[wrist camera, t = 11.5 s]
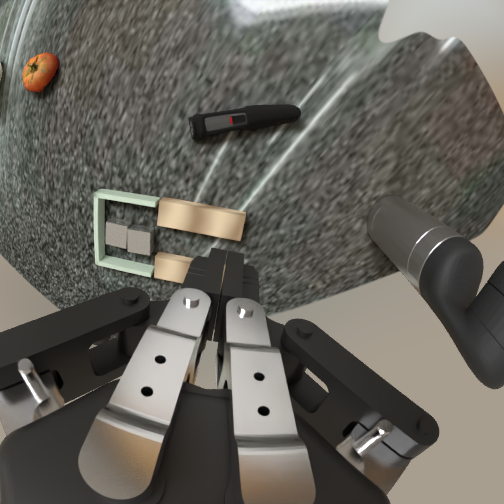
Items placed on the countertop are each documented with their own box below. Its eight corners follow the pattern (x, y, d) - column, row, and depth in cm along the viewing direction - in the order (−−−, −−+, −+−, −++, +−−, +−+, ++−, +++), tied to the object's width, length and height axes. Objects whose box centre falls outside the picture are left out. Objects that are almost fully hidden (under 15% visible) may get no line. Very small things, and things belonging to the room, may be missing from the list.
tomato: (61, 77, 29) (22, 85, 24) (55, 94, 34) (21, 103, 29) (61, 42, 27) (24, 49, 22) (55, 62, 31) (22, 69, 27)
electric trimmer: (298, 126, 36) (303, 125, 34) (192, 140, 37) (188, 141, 34) (295, 101, 35) (299, 99, 32) (188, 116, 35) (183, 115, 33)
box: (160, 197, 40) (155, 202, 38) (154, 270, 46) (150, 277, 44) (101, 188, 39) (94, 192, 37) (101, 258, 45) (95, 264, 43)
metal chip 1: (133, 221, 42) (127, 226, 40) (131, 242, 44) (126, 248, 42) (112, 216, 42) (106, 221, 40) (111, 238, 43) (105, 243, 41)
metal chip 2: (155, 226, 43) (150, 232, 41) (154, 248, 44) (149, 255, 42) (133, 223, 42) (127, 229, 40) (133, 245, 44) (127, 251, 42)
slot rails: (245, 212, 42) (245, 216, 40) (229, 286, 47) (229, 292, 46) (163, 197, 40) (159, 200, 39) (157, 271, 46) (154, 277, 44)
